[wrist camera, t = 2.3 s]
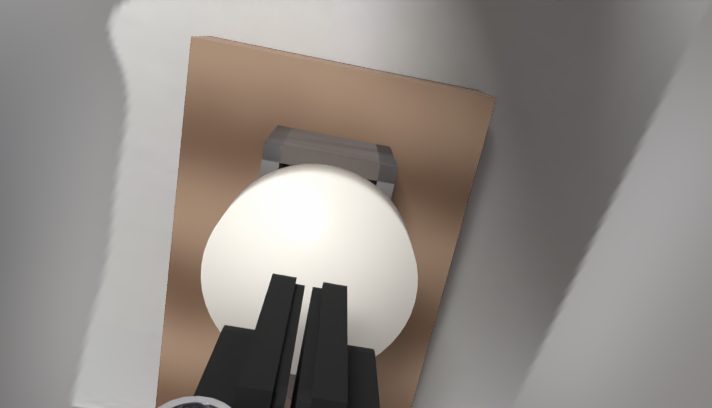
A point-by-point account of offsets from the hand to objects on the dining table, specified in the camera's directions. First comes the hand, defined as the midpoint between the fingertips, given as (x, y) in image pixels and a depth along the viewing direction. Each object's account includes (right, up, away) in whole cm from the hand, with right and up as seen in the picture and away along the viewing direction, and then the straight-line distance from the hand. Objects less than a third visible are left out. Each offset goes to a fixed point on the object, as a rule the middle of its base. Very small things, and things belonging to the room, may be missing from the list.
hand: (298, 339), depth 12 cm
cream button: (0, +3, +7) cm, 7 cm away
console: (-1, 0, +15) cm, 15 cm away
